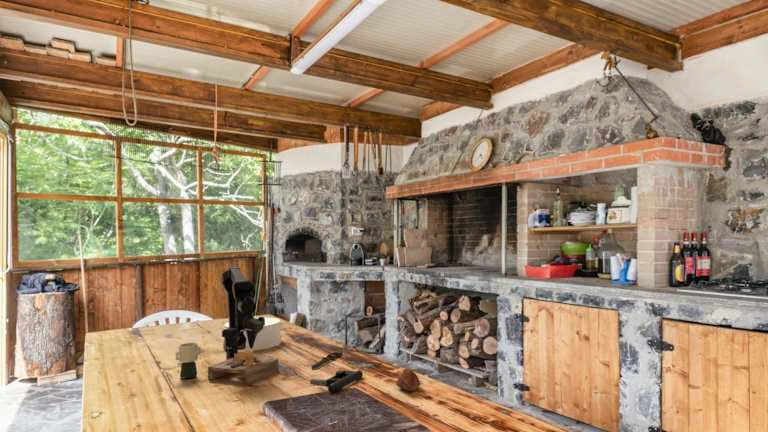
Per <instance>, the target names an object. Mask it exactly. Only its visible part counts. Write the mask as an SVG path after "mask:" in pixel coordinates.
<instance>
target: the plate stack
mask: <svg viewBox="0 0 768 432" xmlns="http://www.w3.org/2000/svg"><path fill="white" fill-rule="evenodd" d="M264 318H265V325H264V326H263V329H262V330H261V331H260V332H259V333H258V334H257V336H256V339H255V342H254V345H253V348H250V346H249V343H248V338H247V333H246V331H244V335H245V337H246V348H245V349H242V350H254V351H260V350H261V349H262V350H266V349H271V348H274V346H275V347H277V346H279V345H280V343H281V344H282V330H281V329H282V326H281V323H282V321H281V318H276V317H264ZM227 328H229V321H228V322H225V323H224V329H227Z"/></svg>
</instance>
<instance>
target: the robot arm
mask: <svg viewBox="0 0 768 432" xmlns="http://www.w3.org/2000/svg"><path fill="white" fill-rule="evenodd" d="M220 283H221V284H220V285H222V290H223V291H224V292H225V293H226V298H227V302H226V303H227V317H228V322H229V328H227V329H226V328H224V329H222V331H221V338H224V339H223V344H222V345H223V346H222V349H223V351H224V352H225V357H226V359H225V360H228V359H230V358H233V357H234V353H235V354H237V353H238V350H242V349H245V348H246V337H245V335H244V331H246V333H247V338H248V343H249V346H250V348H253V345H254V342H255V339H256V336H257V334H258V333H259V332H260V331H261V330H262V329H263V326H264V325H265V318H266V317H265V316H259V317H254V313H255V311H256V308H257V306H256V303H255V301H254V300H252V298H256V288H255V285H254V283H253V282H252V281H251V279H249V278H247V277H245V275H243V273H242V271H241V267H239V266H237V267H234V266H233V267H228V268H227V270H226V271H224V272H223V273H222V274H221V278H220Z"/></svg>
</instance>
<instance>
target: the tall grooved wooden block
mask: <svg viewBox="0 0 768 432" xmlns="http://www.w3.org/2000/svg"><path fill="white" fill-rule="evenodd" d="M253 355H254V351H250V350H238V353H237V354H235V353H234V362H236V361H239V360H245V365H244V363H242V364H240V365H237V366H241V365H243V366H244V367H249V366H251V365H253V364H255V363H254V357H253Z"/></svg>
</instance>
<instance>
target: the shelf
mask: <svg viewBox="0 0 768 432" xmlns="http://www.w3.org/2000/svg"><path fill="white" fill-rule="evenodd" d="M253 357H254V364H253V365H251V366H249V367H245V365H244V363H245V360H239V361H236V362H234V357H233V358H230V359H228V360H226V359H225V360H222V361H220V362H216V363H215V364H212V365H209V366H208V367H207V380H208V381H213V380H216V379H218V378H221V377H224V376H225V375H229V374H231V373H234V374H243V375H245V379H244V380H245V381H244V382H245V385H252V384H254V383H257V382H258V381H260V380H263V379H265V378H267V377H269V376H271V375H273V374H275V373H277V372H279V358H275V357H265V356H263V357H262V356H258V355H257V353H256V354H254V353H253ZM242 363H243V365H241V366H237V365H240V364H242Z"/></svg>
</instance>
